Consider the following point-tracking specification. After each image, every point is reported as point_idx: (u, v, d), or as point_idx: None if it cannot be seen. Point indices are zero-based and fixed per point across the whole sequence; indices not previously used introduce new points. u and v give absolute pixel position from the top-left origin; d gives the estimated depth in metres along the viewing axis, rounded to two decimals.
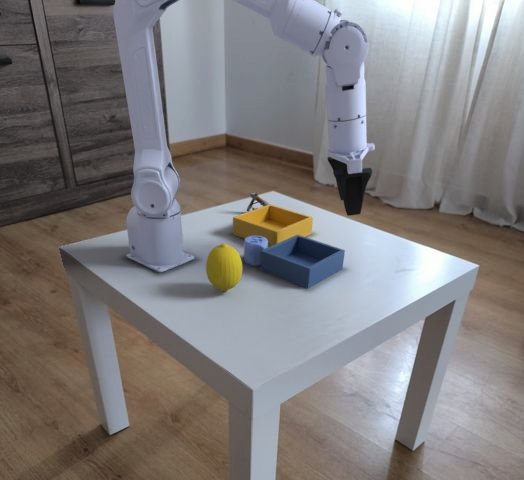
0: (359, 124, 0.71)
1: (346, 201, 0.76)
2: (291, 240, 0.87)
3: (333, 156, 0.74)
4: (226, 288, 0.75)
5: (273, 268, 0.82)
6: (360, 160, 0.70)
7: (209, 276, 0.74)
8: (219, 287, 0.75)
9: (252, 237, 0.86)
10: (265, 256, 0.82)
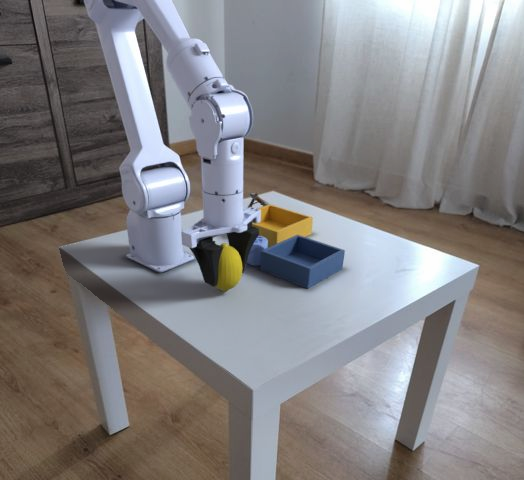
0: (218, 201, 0.66)
1: (201, 268, 0.73)
2: (291, 240, 0.87)
3: None
4: (226, 288, 0.75)
5: (273, 268, 0.82)
6: (189, 236, 0.66)
7: None
8: (219, 287, 0.75)
9: None
10: (265, 256, 0.82)
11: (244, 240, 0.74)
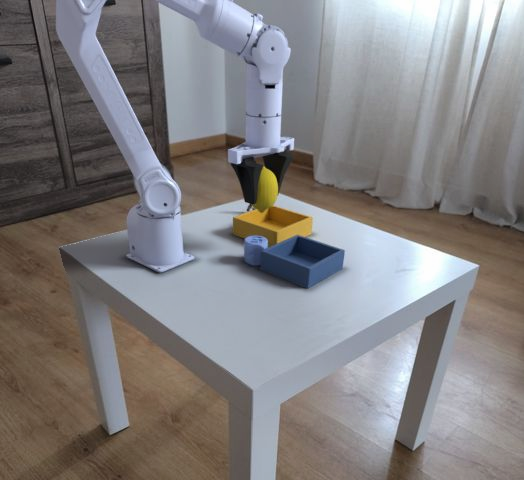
0: (260, 123, 0.76)
1: (242, 187, 0.83)
2: (291, 240, 0.87)
3: None
4: (264, 207, 0.85)
5: (273, 268, 0.82)
6: (235, 152, 0.76)
7: None
8: (258, 206, 0.85)
9: (252, 237, 0.86)
10: (265, 256, 0.82)
11: (280, 163, 0.84)
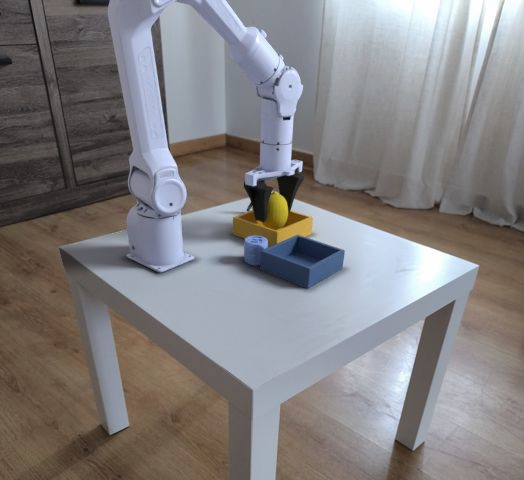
0: (273, 150, 0.86)
1: (253, 207, 0.92)
2: (291, 240, 0.87)
3: None
4: (275, 228, 0.95)
5: (273, 268, 0.82)
6: (252, 176, 0.85)
7: None
8: (270, 227, 0.95)
9: (252, 237, 0.86)
10: (265, 256, 0.82)
11: (292, 183, 0.94)
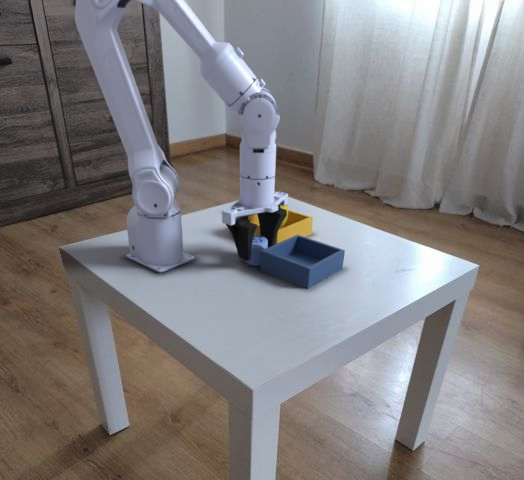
0: (254, 184, 0.77)
1: (236, 244, 0.83)
2: (291, 240, 0.87)
3: None
4: None
5: (273, 268, 0.82)
6: (229, 215, 0.76)
7: None
8: None
9: None
10: (265, 256, 0.82)
11: (274, 220, 0.84)
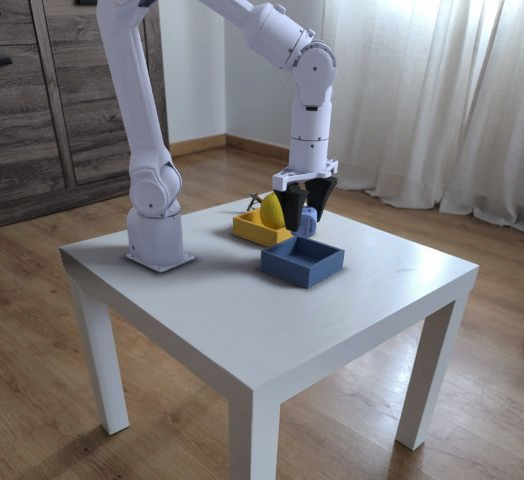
0: (307, 147, 0.71)
1: (284, 214, 0.77)
2: (291, 240, 0.87)
3: None
4: (275, 228, 0.95)
5: (273, 268, 0.82)
6: (281, 179, 0.70)
7: (262, 218, 0.94)
8: (270, 227, 0.95)
9: None
10: (265, 256, 0.82)
11: (324, 188, 0.78)
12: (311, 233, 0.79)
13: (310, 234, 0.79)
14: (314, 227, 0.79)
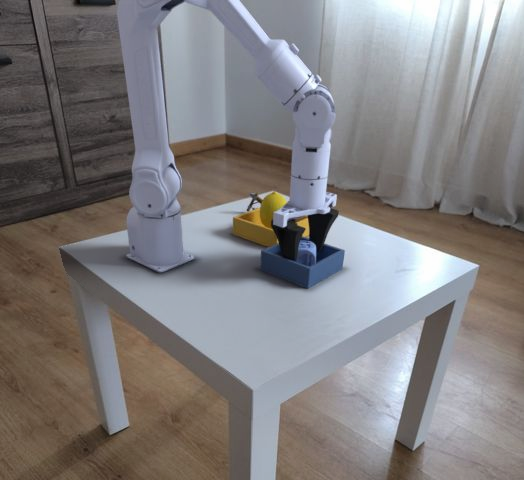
0: (307, 185, 0.74)
1: (281, 248, 0.80)
2: None
3: None
4: None
5: (273, 268, 0.82)
6: (282, 216, 0.73)
7: (262, 218, 0.94)
8: (270, 227, 0.95)
9: None
10: (265, 256, 0.82)
11: (325, 220, 0.82)
12: None
13: None
14: (313, 261, 0.82)
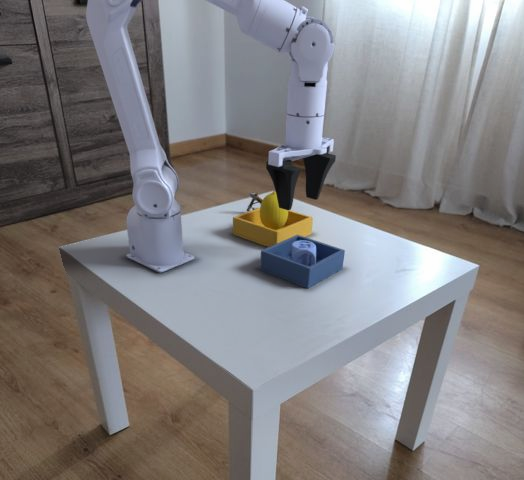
0: (303, 123, 0.72)
1: (277, 192, 0.78)
2: (291, 240, 0.87)
3: None
4: (275, 228, 0.95)
5: (273, 268, 0.82)
6: (277, 154, 0.72)
7: (262, 218, 0.94)
8: (270, 227, 0.95)
9: (299, 241, 0.83)
10: (265, 256, 0.82)
11: (322, 165, 0.80)
12: None
13: None
14: (313, 261, 0.82)
